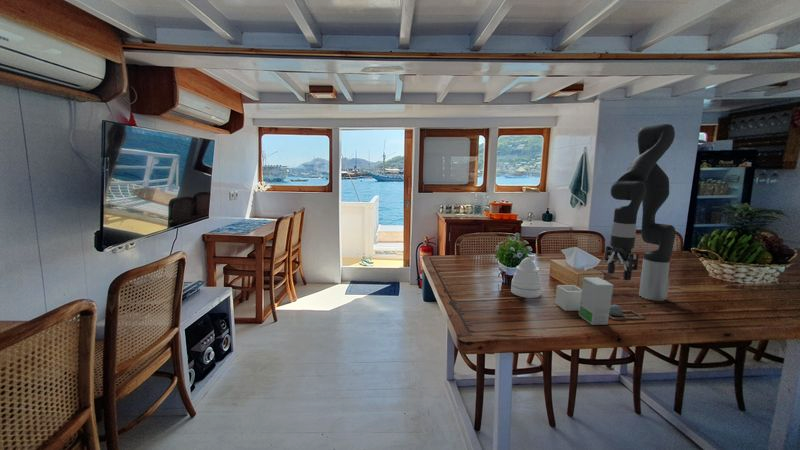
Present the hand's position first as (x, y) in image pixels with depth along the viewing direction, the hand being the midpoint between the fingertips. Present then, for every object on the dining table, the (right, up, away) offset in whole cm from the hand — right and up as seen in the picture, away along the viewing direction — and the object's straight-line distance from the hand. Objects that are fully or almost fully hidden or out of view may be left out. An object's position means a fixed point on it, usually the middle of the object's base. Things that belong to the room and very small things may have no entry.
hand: (618, 276), depth 124 cm
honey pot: (-25, -12, +27) cm, 39 cm away
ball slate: (0, -16, +2) cm, 16 cm away
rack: (+3, -16, +2) cm, 16 cm away
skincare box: (-11, -16, -2) cm, 20 cm away
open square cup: (-13, -14, +11) cm, 22 cm away
